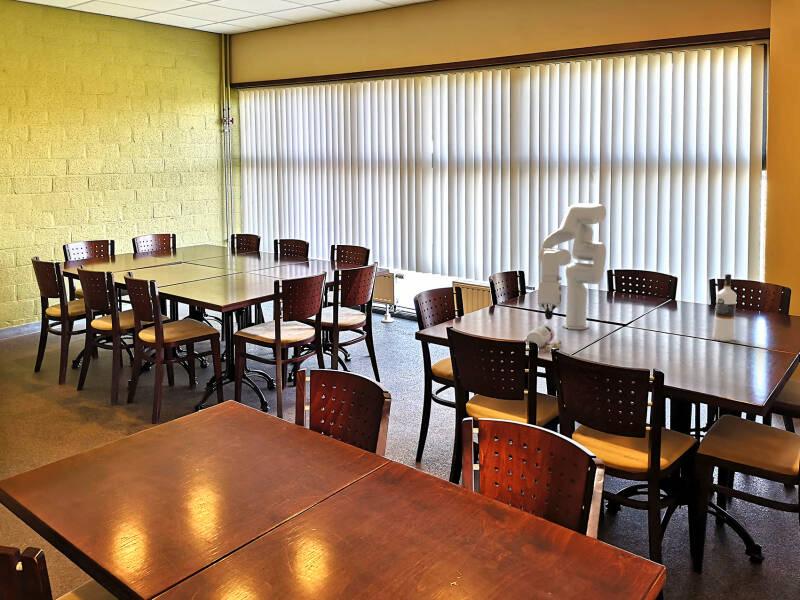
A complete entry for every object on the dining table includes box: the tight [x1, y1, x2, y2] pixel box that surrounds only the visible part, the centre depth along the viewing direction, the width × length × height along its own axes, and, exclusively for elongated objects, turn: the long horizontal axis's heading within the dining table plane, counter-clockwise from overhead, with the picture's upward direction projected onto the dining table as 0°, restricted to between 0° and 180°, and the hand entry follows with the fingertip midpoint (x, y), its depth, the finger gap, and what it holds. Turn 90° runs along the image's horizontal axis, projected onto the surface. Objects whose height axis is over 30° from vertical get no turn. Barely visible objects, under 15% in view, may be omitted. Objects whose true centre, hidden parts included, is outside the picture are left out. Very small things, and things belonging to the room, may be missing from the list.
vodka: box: [711, 273, 738, 342], centre depth 330 cm, size 9×9×30 cm
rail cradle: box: [521, 336, 562, 354], centre depth 322 cm, size 14×16×2 cm
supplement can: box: [525, 324, 555, 348], centre depth 323 cm, size 8×8×15 cm
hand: (548, 318), depth 329 cm, fingers closed
